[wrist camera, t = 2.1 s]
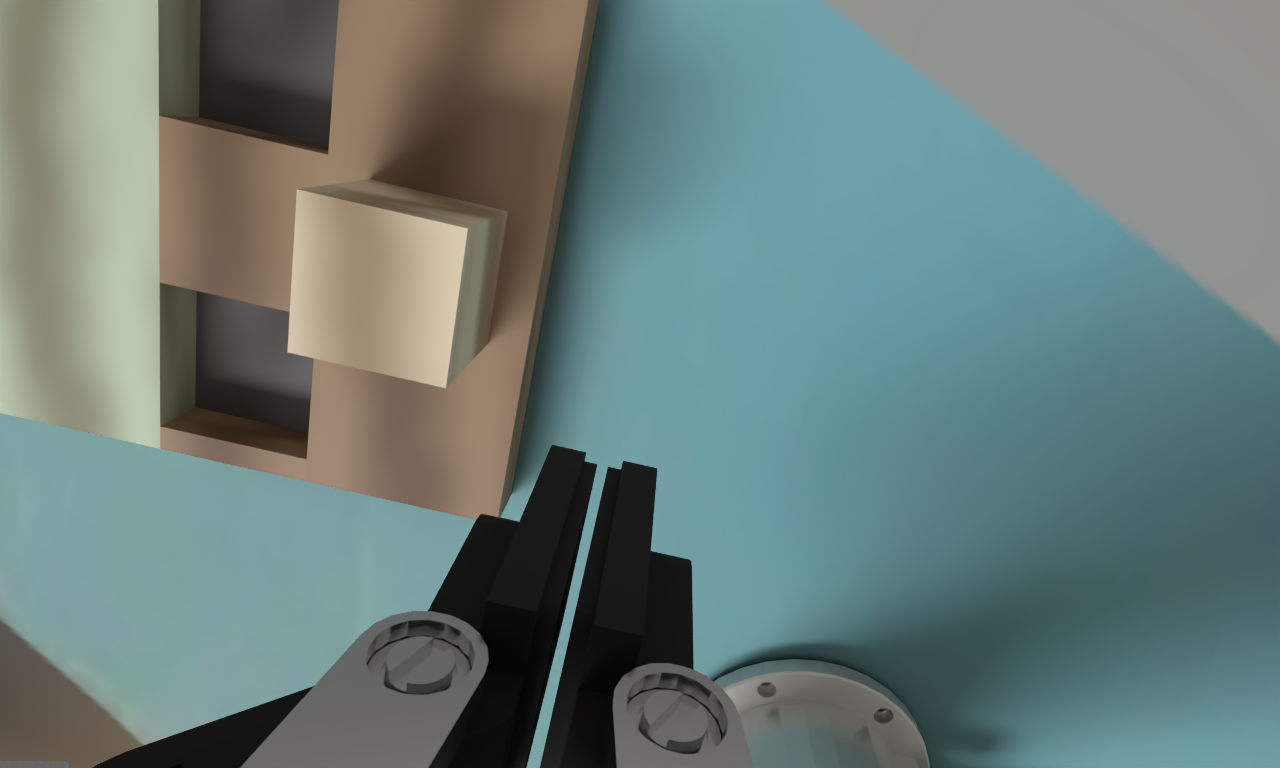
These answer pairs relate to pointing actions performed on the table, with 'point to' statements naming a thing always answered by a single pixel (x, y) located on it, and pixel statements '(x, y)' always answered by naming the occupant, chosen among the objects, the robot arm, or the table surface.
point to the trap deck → (271, 221)
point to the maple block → (393, 279)
